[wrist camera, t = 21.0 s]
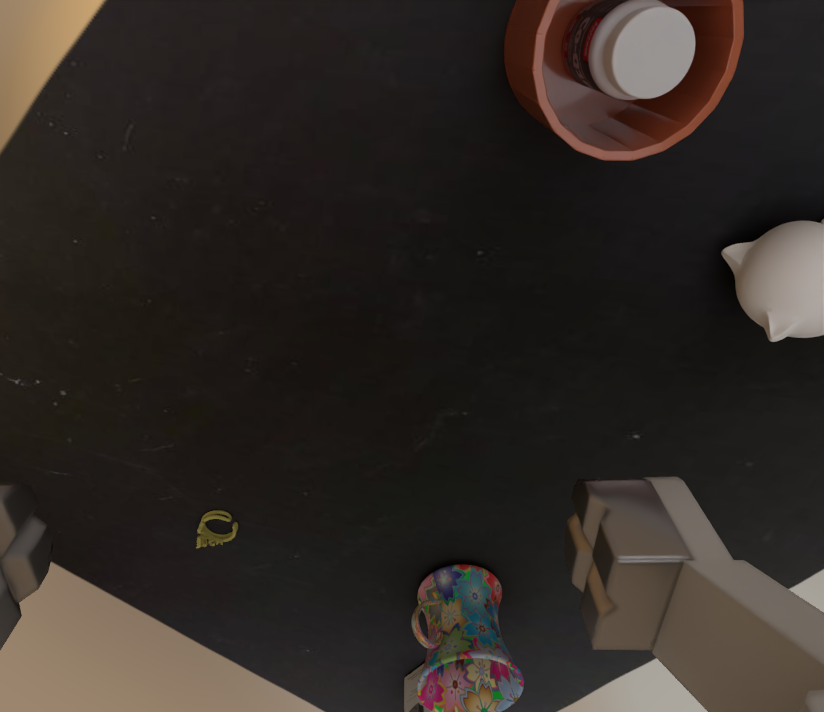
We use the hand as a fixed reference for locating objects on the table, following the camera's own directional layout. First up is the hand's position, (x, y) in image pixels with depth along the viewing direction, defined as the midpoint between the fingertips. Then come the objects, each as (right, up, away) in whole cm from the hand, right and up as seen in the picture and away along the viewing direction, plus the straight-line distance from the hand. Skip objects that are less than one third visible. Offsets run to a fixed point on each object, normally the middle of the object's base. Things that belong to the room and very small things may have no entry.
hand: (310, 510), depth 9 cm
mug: (+5, -20, +51) cm, 55 cm away
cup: (+12, +21, +27) cm, 37 cm away
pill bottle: (+13, +21, +27) cm, 37 cm away
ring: (-16, -13, +47) cm, 51 cm away
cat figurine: (+30, +9, +35) cm, 47 cm away
